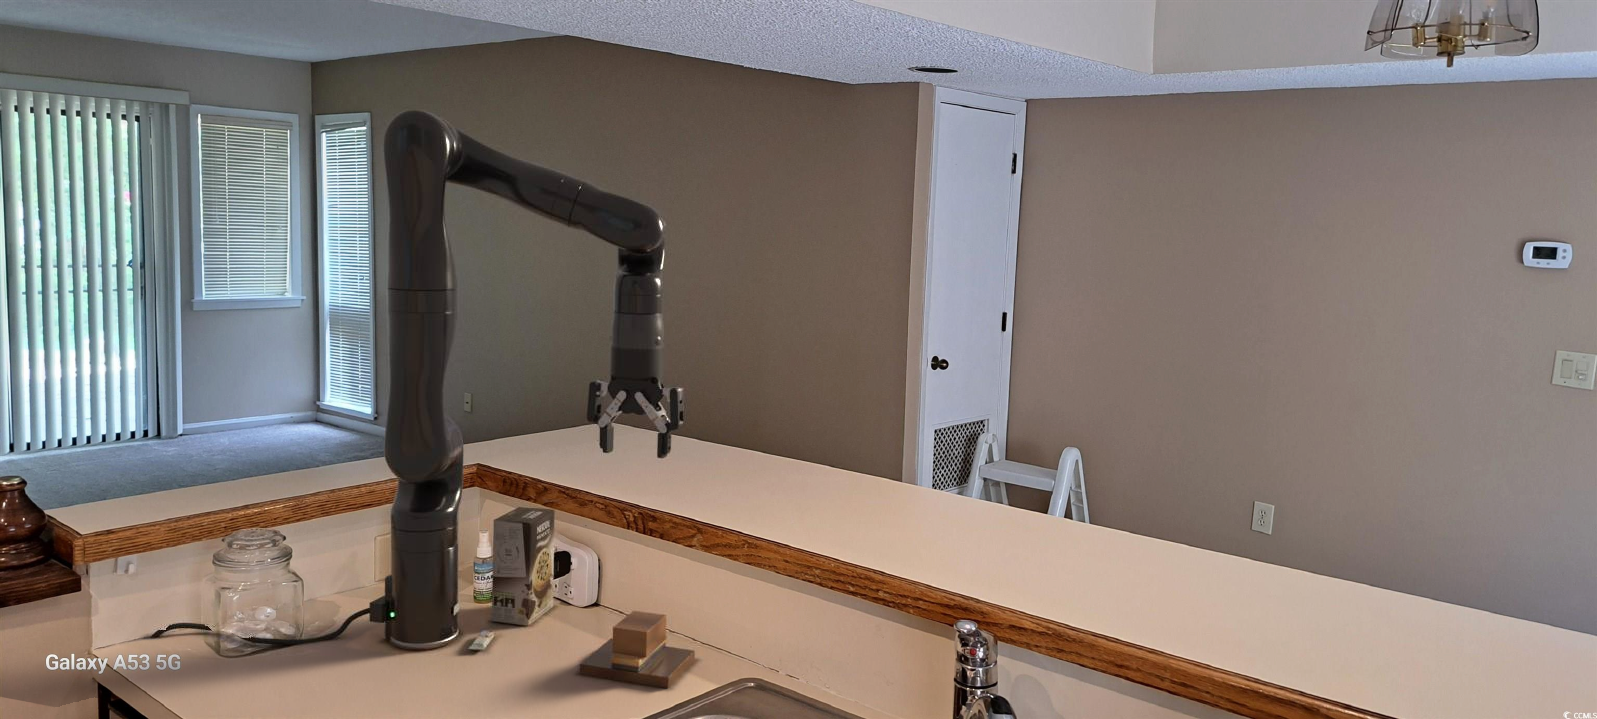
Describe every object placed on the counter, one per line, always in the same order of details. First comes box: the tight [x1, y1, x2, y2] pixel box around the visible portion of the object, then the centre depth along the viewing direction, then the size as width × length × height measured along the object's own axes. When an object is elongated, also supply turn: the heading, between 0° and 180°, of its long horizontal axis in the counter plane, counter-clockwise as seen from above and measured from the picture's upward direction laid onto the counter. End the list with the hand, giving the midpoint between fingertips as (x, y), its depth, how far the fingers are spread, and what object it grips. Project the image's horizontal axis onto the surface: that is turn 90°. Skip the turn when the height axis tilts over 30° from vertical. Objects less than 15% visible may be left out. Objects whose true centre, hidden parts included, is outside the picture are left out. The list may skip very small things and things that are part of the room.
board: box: [579, 637, 696, 689], centre depth 149 cm, size 13×10×2 cm
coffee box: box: [491, 506, 556, 627], centre depth 166 cm, size 9×6×16 cm
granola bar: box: [468, 629, 498, 651], centre depth 154 cm, size 7×2×1 cm, turn 1°
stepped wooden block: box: [610, 610, 668, 672], centre depth 148 cm, size 10×5×5 cm, turn 165°
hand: (634, 454), depth 155 cm, fingers open, 8 cm apart
